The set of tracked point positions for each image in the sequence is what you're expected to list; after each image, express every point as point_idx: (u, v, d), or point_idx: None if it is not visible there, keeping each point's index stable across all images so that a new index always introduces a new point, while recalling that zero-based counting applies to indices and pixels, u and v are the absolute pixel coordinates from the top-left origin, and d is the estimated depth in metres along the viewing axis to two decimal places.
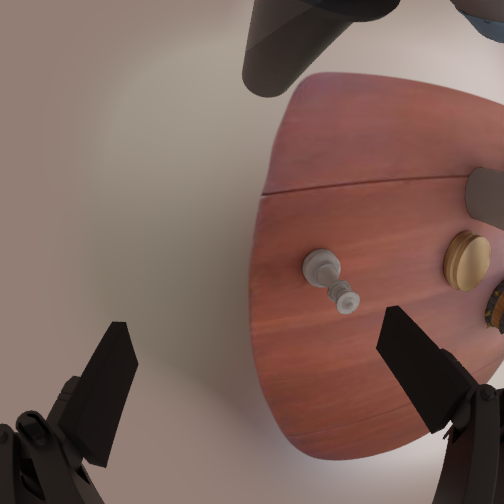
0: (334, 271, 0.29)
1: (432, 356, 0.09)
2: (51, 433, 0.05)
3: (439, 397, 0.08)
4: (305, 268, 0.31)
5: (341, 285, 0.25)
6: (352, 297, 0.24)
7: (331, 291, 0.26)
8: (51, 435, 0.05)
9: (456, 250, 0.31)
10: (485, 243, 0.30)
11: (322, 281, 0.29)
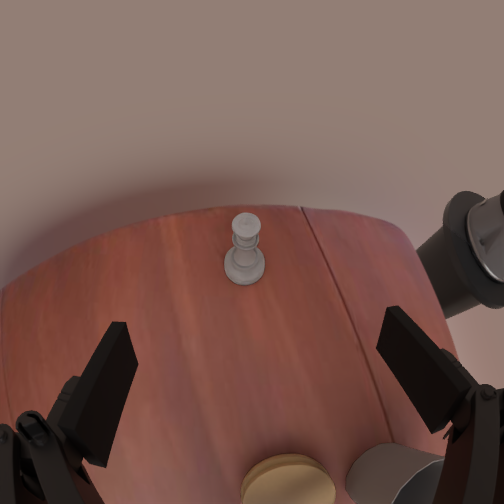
0: (253, 257, 0.27)
1: (432, 356, 0.09)
2: (51, 433, 0.05)
3: (439, 397, 0.08)
4: None
5: None
6: (254, 226, 0.22)
7: None
8: (51, 435, 0.05)
9: (303, 457, 0.20)
10: None
11: None
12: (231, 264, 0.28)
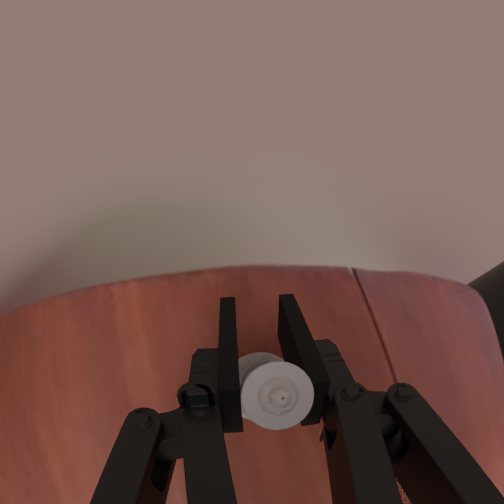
0: None
1: (298, 343, 0.11)
2: (215, 407, 0.08)
3: None
4: None
5: None
6: (299, 400, 0.08)
7: None
8: (214, 409, 0.08)
9: None
10: None
11: None
12: None
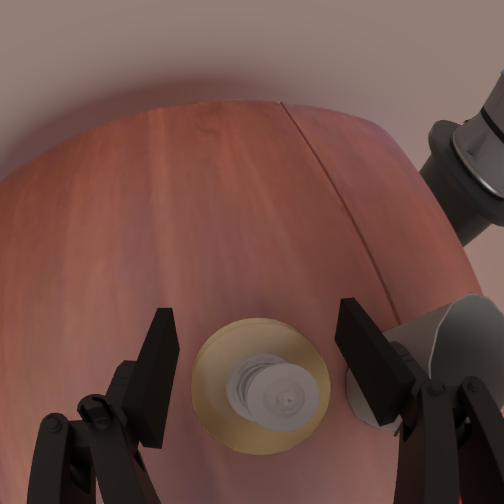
0: None
1: (377, 347, 0.10)
2: (115, 418, 0.07)
3: (384, 389, 0.09)
4: (262, 354, 0.16)
5: None
6: (304, 402, 0.08)
7: None
8: (115, 420, 0.07)
9: (280, 322, 0.19)
10: None
11: None
12: (239, 399, 0.14)
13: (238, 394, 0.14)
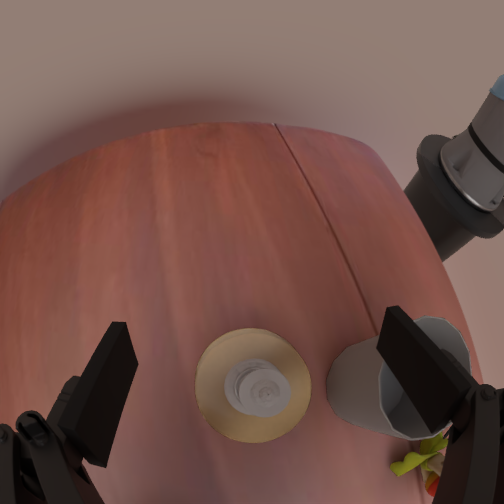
0: None
1: (432, 356, 0.09)
2: (51, 433, 0.05)
3: (439, 397, 0.08)
4: (253, 359, 0.19)
5: None
6: (279, 396, 0.11)
7: None
8: (51, 435, 0.05)
9: (269, 331, 0.22)
10: (301, 401, 0.19)
11: None
12: (235, 395, 0.17)
13: (234, 391, 0.17)
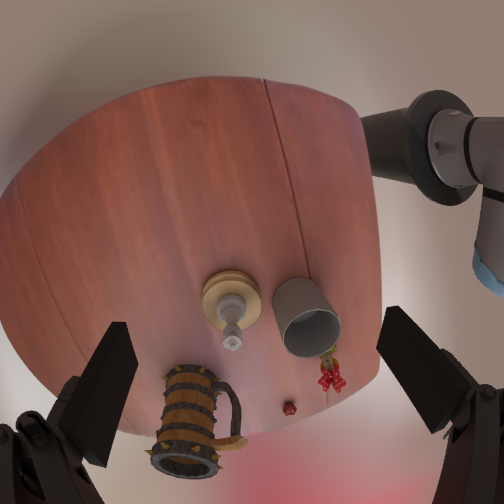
0: (237, 321, 0.38)
1: (432, 356, 0.09)
2: (51, 433, 0.05)
3: (439, 397, 0.08)
4: (231, 297, 0.39)
5: (238, 332, 0.35)
6: (237, 344, 0.33)
7: (232, 327, 0.34)
8: (51, 435, 0.05)
9: (241, 275, 0.41)
10: (255, 314, 0.42)
11: (229, 315, 0.37)
12: (222, 317, 0.39)
13: (221, 315, 0.39)
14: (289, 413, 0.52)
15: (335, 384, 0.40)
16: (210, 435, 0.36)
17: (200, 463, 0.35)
